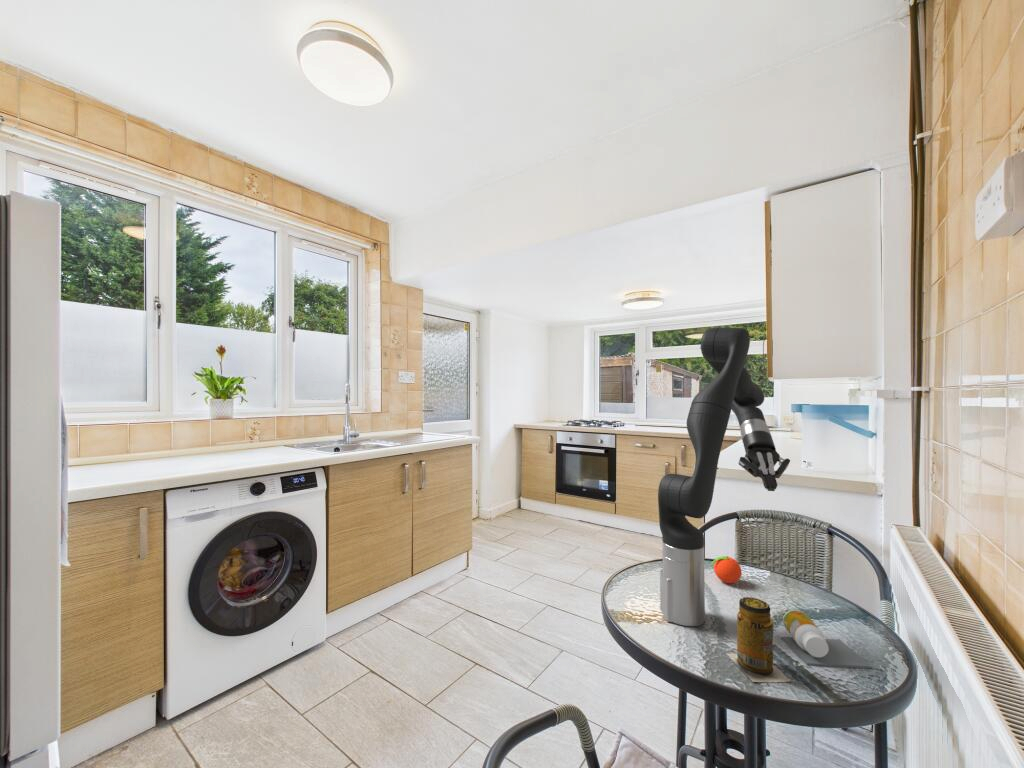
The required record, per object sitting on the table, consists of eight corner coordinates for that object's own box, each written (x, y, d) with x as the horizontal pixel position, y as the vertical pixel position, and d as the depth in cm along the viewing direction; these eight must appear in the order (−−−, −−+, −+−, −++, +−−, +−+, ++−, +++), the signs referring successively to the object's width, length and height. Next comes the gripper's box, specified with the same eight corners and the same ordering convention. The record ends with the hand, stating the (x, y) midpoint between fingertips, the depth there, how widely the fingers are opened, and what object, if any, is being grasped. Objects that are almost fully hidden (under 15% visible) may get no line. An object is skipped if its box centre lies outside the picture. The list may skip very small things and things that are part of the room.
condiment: (761, 653, 85) (760, 594, 85) (791, 682, 77) (790, 615, 77) (726, 654, 85) (725, 594, 85) (752, 683, 76) (751, 616, 77)
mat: (806, 665, 81) (806, 663, 81) (780, 638, 90) (780, 636, 90) (872, 668, 80) (872, 666, 80) (839, 641, 89) (839, 639, 89)
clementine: (716, 587, 114) (716, 561, 115) (706, 576, 121) (705, 551, 122) (746, 588, 114) (746, 561, 114) (734, 577, 121) (733, 552, 121)
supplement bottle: (815, 619, 91) (839, 645, 81) (800, 639, 91) (822, 667, 82) (791, 603, 92) (812, 627, 82) (777, 623, 92) (796, 648, 83)
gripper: (733, 429, 121) (746, 479, 109) (785, 430, 118) (804, 482, 106) (729, 445, 126) (741, 495, 114) (778, 446, 123) (796, 498, 111)
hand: (772, 489), depth 110 cm, fingers closed
